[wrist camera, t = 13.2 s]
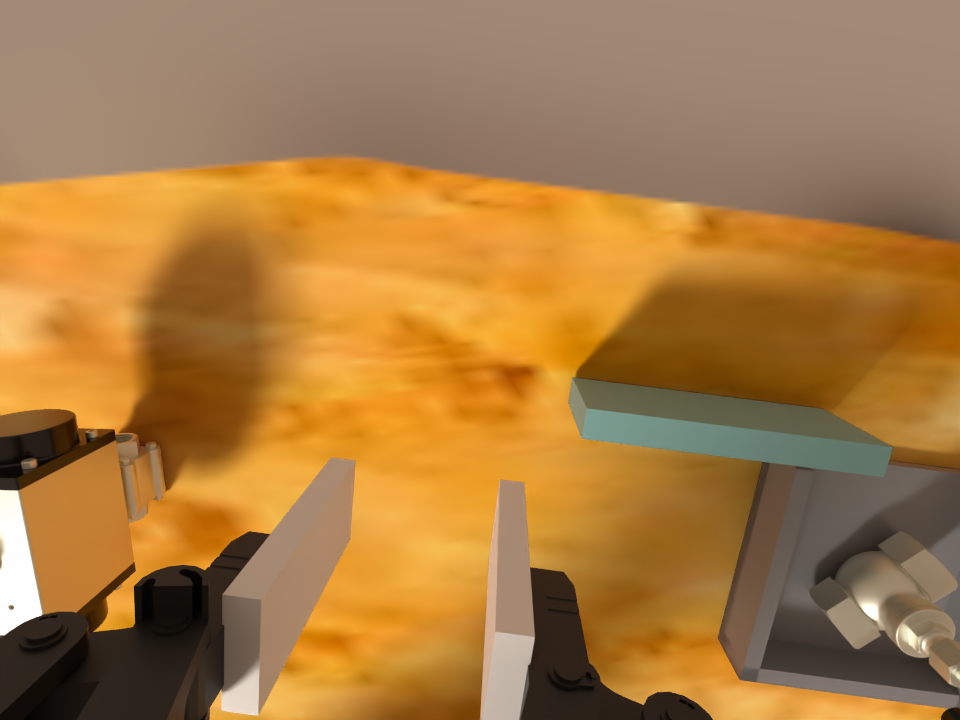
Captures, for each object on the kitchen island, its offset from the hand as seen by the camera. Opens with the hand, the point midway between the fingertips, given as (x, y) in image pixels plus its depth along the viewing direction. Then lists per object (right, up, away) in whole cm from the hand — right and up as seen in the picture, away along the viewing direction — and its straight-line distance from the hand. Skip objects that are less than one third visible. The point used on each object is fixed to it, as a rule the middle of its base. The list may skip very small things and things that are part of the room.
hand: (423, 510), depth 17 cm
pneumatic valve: (-21, -2, +19) cm, 28 cm away
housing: (+27, -7, +17) cm, 33 cm away
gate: (+15, +2, +16) cm, 22 cm away
